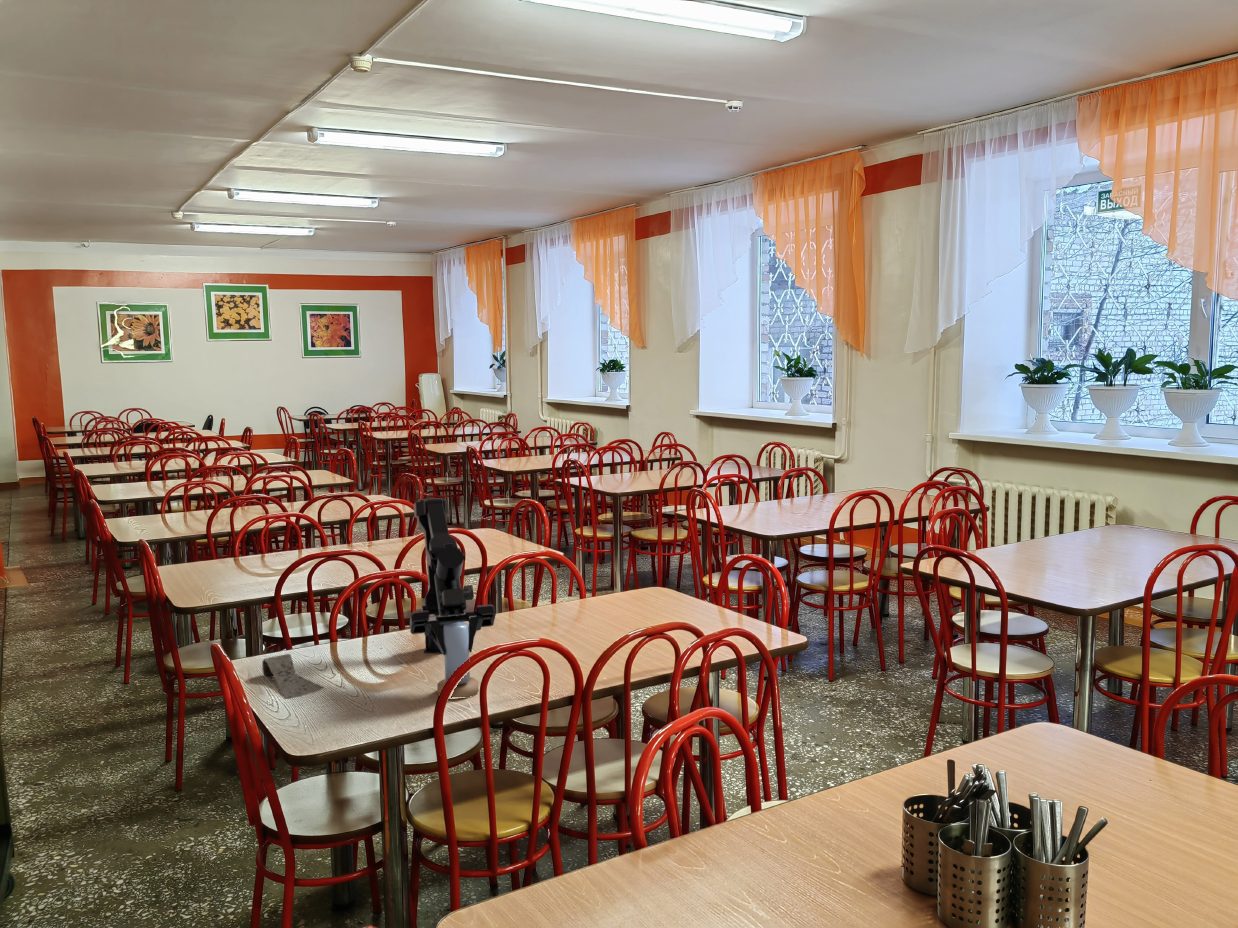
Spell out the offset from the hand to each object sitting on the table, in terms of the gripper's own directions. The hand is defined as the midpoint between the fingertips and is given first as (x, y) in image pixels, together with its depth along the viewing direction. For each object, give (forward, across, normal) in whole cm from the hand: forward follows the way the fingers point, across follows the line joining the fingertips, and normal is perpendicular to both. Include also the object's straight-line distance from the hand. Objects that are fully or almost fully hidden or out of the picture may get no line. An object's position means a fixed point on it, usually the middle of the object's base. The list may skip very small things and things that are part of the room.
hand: (457, 652), depth 207 cm
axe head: (-7, -35, +21) cm, 42 cm away
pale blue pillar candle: (+4, 0, +6) cm, 7 cm away
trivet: (+6, 0, +8) cm, 10 cm away
